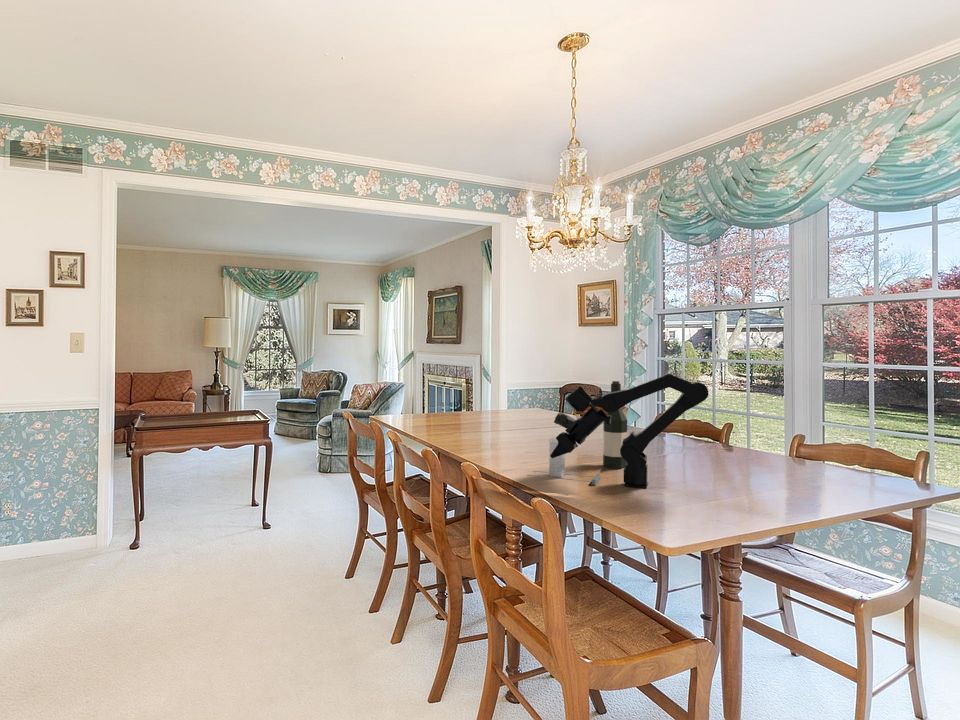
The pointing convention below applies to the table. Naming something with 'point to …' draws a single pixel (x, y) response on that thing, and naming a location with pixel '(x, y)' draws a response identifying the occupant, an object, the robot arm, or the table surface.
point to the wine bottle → (614, 436)
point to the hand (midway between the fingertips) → (552, 455)
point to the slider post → (556, 461)
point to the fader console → (593, 482)
